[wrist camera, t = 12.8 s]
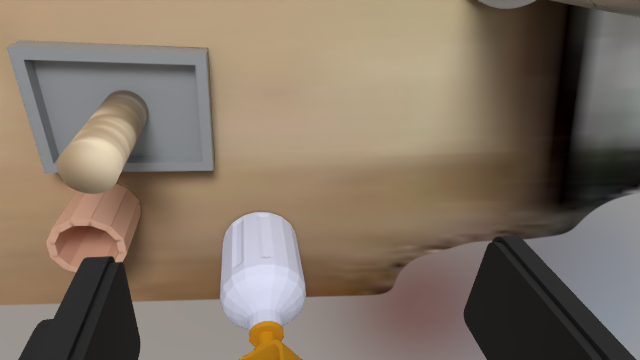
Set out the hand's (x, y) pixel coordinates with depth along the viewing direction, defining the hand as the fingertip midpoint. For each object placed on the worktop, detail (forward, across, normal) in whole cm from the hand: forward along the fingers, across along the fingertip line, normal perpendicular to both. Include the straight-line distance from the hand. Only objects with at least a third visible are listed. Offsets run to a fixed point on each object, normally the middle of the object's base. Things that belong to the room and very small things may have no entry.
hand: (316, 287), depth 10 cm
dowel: (+32, +13, +8) cm, 36 cm away
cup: (+33, +17, +20) cm, 42 cm away
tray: (+33, +13, +8) cm, 37 cm away
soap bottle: (+34, 0, +25) cm, 42 cm away
